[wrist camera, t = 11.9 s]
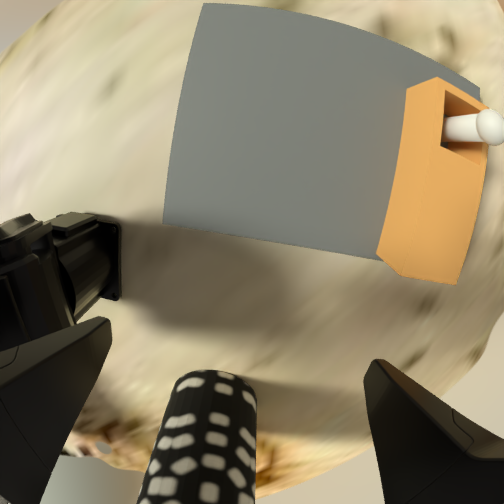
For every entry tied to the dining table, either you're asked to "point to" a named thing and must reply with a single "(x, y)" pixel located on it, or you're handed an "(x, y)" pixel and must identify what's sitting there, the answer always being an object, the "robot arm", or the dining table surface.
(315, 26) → the keeper board
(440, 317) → the dining table surface
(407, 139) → the orange rectangular block
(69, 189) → the dining table surface
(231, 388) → the spotted tube
